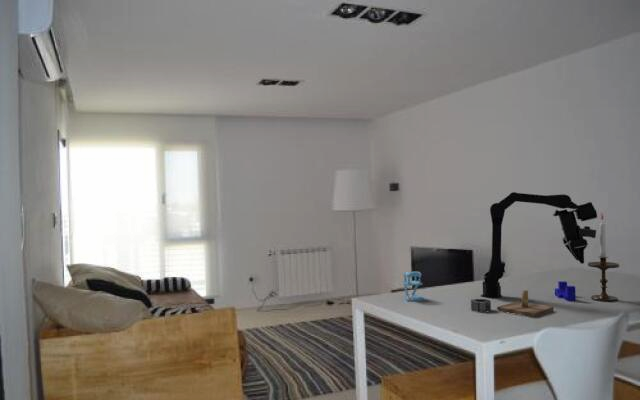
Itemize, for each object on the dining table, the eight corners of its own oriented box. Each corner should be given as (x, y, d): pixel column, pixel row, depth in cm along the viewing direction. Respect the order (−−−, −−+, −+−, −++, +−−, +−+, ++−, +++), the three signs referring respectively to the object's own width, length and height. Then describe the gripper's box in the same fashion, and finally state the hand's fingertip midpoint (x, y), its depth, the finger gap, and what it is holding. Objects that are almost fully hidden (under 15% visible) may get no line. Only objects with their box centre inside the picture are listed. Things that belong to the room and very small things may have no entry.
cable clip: (554, 295, 203) (554, 281, 203) (566, 295, 202) (565, 281, 202) (563, 301, 191) (563, 286, 191) (575, 301, 190) (575, 286, 190)
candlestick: (590, 295, 200) (588, 212, 200) (620, 298, 193) (618, 211, 193) (587, 300, 191) (584, 213, 191) (619, 303, 185) (616, 212, 185)
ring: (467, 309, 181) (467, 300, 181) (478, 307, 185) (478, 298, 185) (483, 312, 175) (483, 303, 175) (494, 309, 179) (493, 300, 179)
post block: (497, 310, 178) (496, 290, 178) (517, 305, 186) (517, 285, 186) (533, 317, 167) (532, 296, 167) (553, 311, 175) (552, 290, 175)
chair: (418, 296, 208) (417, 268, 208) (425, 300, 199) (424, 271, 199) (400, 297, 206) (400, 269, 206) (407, 301, 198) (406, 272, 198)
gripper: (596, 220, 183) (608, 260, 182) (586, 218, 200) (597, 254, 199) (564, 227, 186) (576, 266, 185) (557, 224, 204) (568, 260, 203)
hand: (580, 261), depth 193 cm, fingers open, 9 cm apart
